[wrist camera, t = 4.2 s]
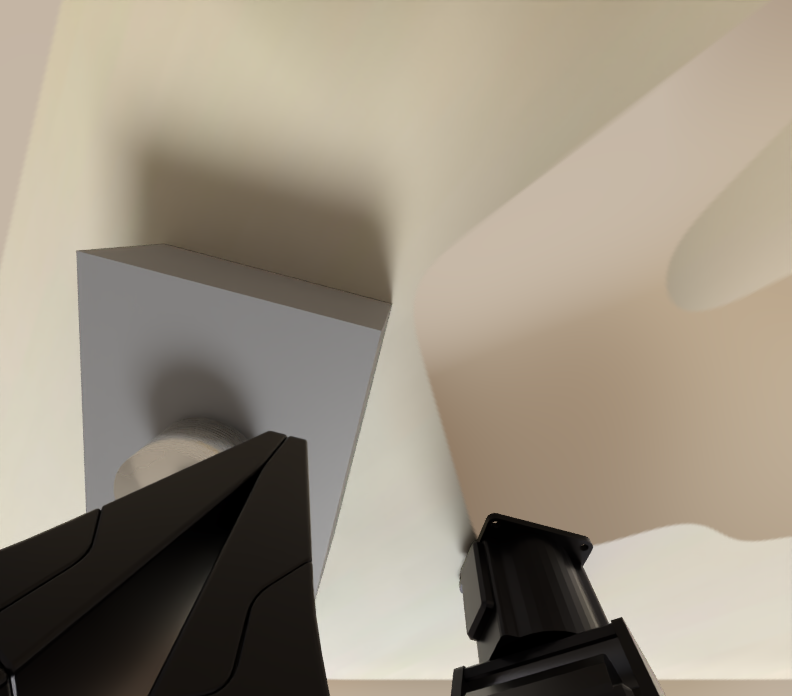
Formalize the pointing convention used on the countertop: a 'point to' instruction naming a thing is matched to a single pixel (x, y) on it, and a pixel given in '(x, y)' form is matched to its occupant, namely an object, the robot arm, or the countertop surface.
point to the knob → (174, 452)
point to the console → (222, 363)
